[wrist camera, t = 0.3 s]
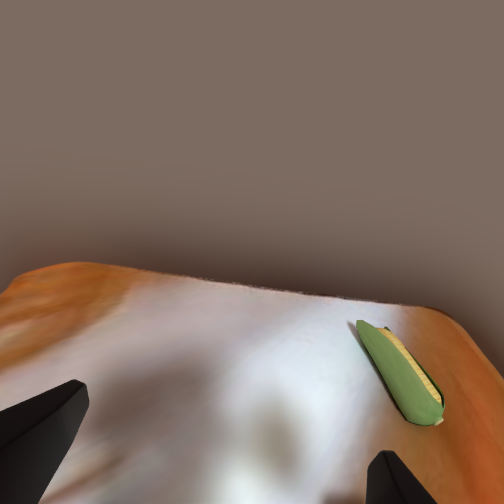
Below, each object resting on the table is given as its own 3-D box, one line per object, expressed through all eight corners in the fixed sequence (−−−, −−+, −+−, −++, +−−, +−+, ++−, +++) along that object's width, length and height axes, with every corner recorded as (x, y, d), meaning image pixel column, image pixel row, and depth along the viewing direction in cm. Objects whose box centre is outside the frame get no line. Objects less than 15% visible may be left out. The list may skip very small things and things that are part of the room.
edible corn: (410, 441, 26) (434, 416, 24) (342, 328, 44) (355, 302, 42) (439, 431, 28) (462, 406, 26) (370, 328, 45) (383, 304, 43)
